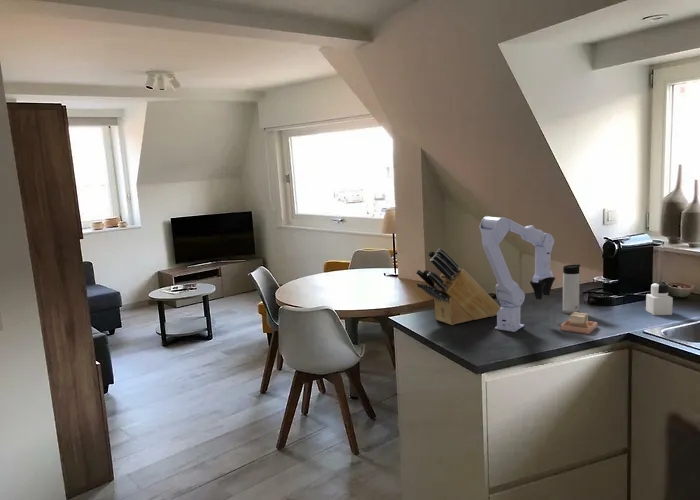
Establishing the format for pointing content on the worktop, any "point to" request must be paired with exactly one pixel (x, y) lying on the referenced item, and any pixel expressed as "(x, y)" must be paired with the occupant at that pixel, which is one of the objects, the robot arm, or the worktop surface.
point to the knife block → (455, 292)
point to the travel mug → (571, 289)
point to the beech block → (579, 320)
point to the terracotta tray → (588, 330)
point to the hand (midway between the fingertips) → (542, 297)
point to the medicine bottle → (659, 300)
